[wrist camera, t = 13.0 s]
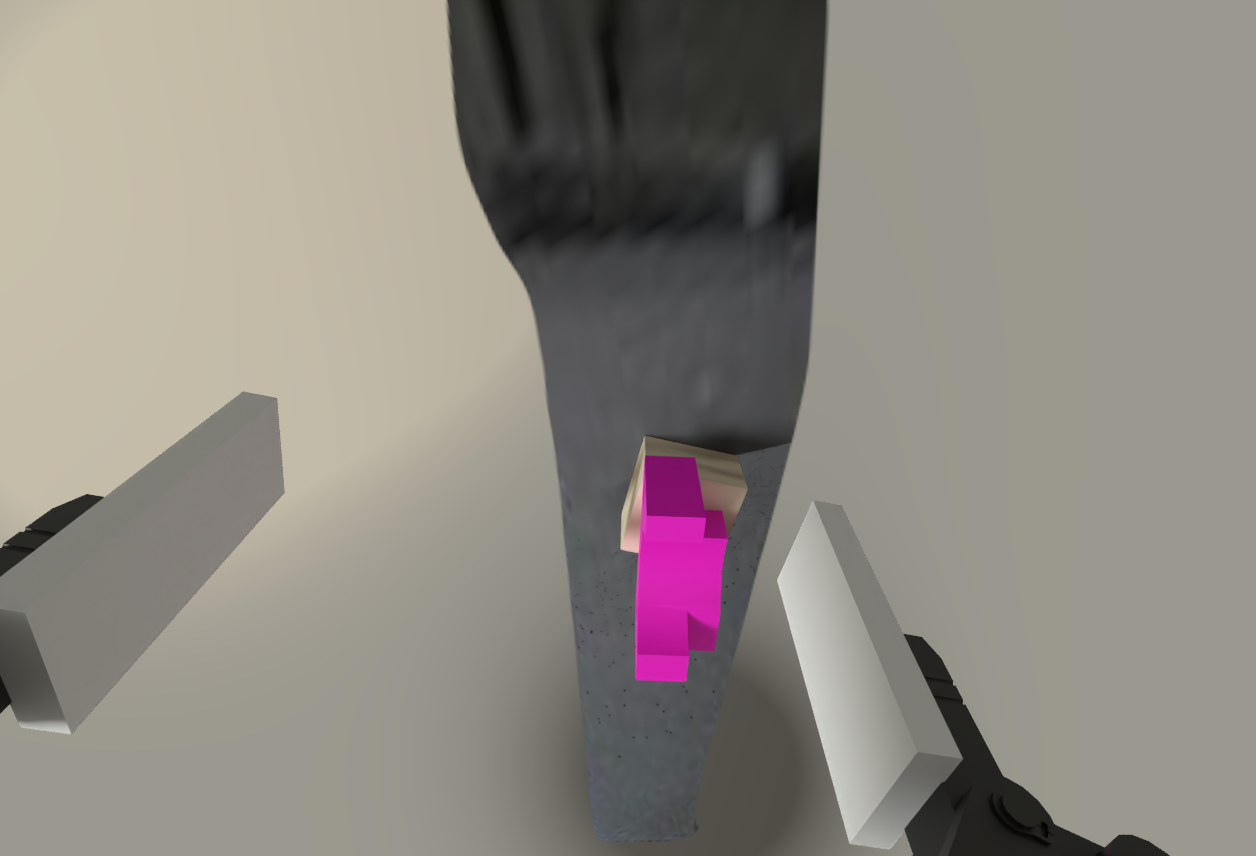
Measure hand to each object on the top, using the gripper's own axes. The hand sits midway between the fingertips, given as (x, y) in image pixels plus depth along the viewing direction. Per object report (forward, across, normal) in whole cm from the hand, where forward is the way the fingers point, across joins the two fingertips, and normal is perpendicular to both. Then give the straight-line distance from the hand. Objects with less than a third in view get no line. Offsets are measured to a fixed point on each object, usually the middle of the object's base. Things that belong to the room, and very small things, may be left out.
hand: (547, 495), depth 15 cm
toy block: (+26, +10, -21) cm, 35 cm away
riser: (+31, +10, -19) cm, 38 cm away
